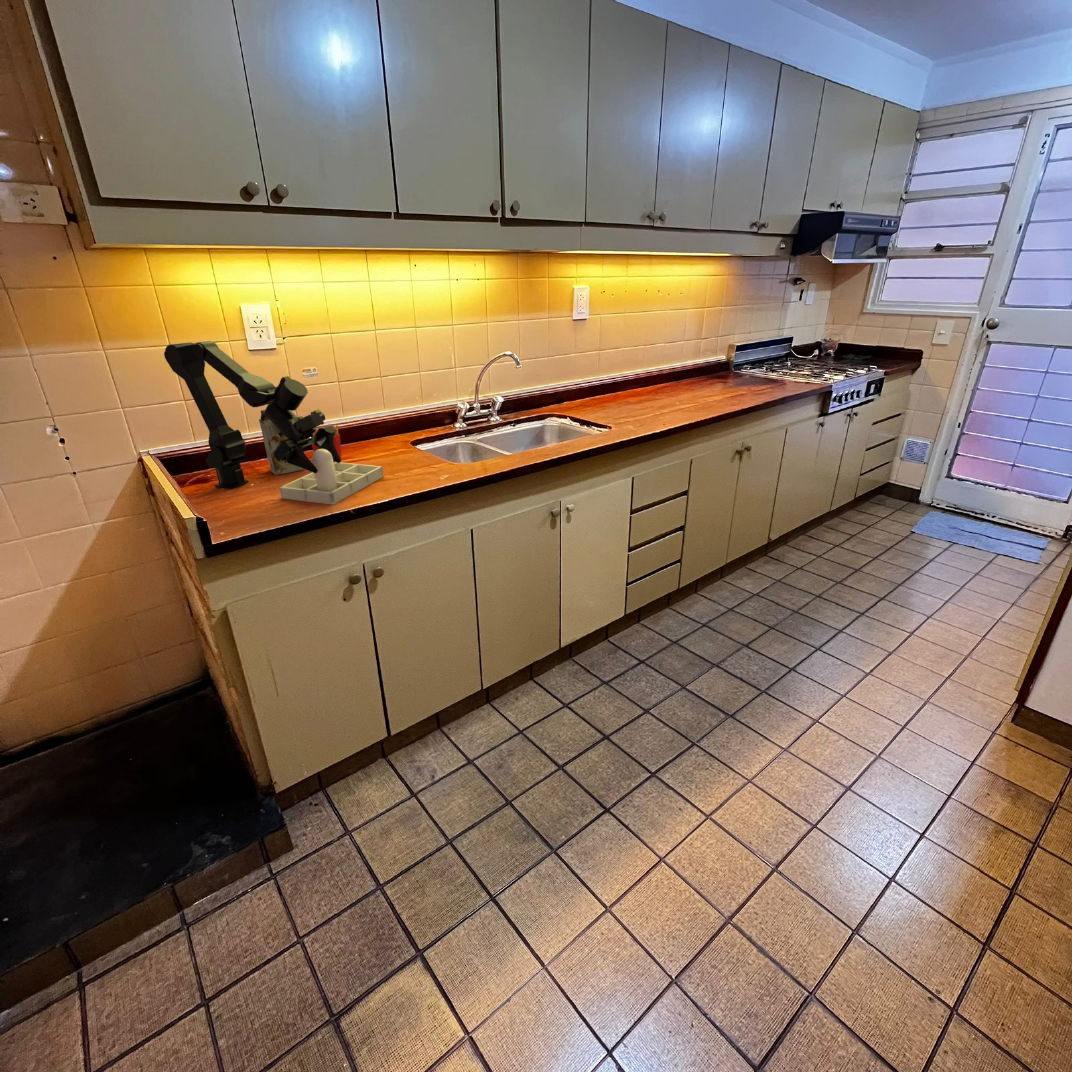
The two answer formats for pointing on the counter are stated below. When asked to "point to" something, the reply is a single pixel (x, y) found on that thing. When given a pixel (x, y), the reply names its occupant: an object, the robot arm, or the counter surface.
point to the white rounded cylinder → (324, 470)
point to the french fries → (336, 441)
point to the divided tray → (347, 480)
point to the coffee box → (271, 444)
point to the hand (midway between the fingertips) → (328, 467)
